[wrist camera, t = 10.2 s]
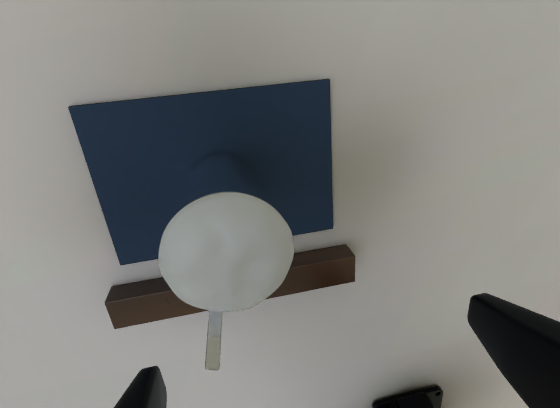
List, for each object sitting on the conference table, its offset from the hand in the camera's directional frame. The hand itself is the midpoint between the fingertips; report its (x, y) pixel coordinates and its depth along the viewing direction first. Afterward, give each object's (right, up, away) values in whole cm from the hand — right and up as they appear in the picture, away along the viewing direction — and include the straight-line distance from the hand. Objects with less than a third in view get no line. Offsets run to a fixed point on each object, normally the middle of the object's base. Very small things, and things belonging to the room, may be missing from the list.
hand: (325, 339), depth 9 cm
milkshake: (-5, +5, +10) cm, 12 cm away
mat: (-5, +5, +10) cm, 12 cm away
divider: (-4, -1, +12) cm, 13 cm away
